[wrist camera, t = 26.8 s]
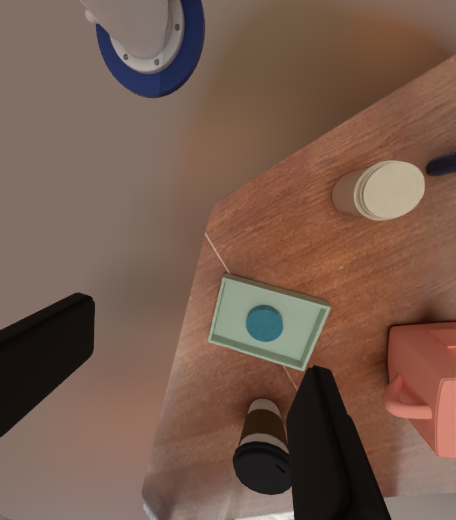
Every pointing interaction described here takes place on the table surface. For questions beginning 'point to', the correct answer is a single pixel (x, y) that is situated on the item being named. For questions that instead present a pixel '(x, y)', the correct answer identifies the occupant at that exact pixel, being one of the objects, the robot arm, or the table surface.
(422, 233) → the table surface
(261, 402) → the coffee cup
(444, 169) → the flask
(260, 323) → the lid
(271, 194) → the table surface
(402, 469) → the table surface
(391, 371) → the teapot
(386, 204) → the jar
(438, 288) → the table surface
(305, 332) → the tray
